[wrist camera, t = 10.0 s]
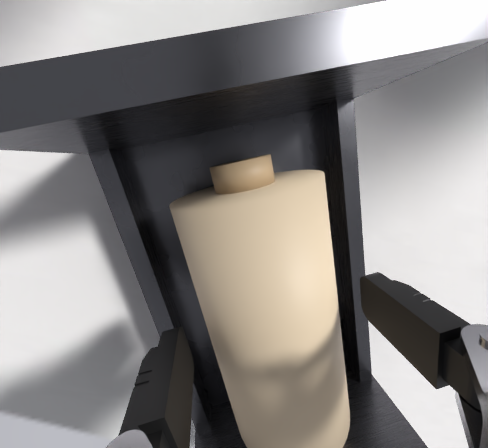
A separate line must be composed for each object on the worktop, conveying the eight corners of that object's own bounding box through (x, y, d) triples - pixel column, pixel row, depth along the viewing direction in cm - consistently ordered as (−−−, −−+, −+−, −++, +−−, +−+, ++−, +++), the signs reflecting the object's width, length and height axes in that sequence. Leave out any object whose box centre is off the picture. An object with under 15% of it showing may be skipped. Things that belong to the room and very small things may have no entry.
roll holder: (98, 133, 11) (-105, 84, 4) (329, 87, 12) (512, -21, 5) (200, 409, 17) (195, 607, 9) (354, 361, 18) (459, 504, 10)
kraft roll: (178, 172, 12) (134, 187, 6) (293, 147, 12) (357, 139, 6) (237, 378, 16) (244, 504, 10) (323, 358, 16) (378, 471, 10)
